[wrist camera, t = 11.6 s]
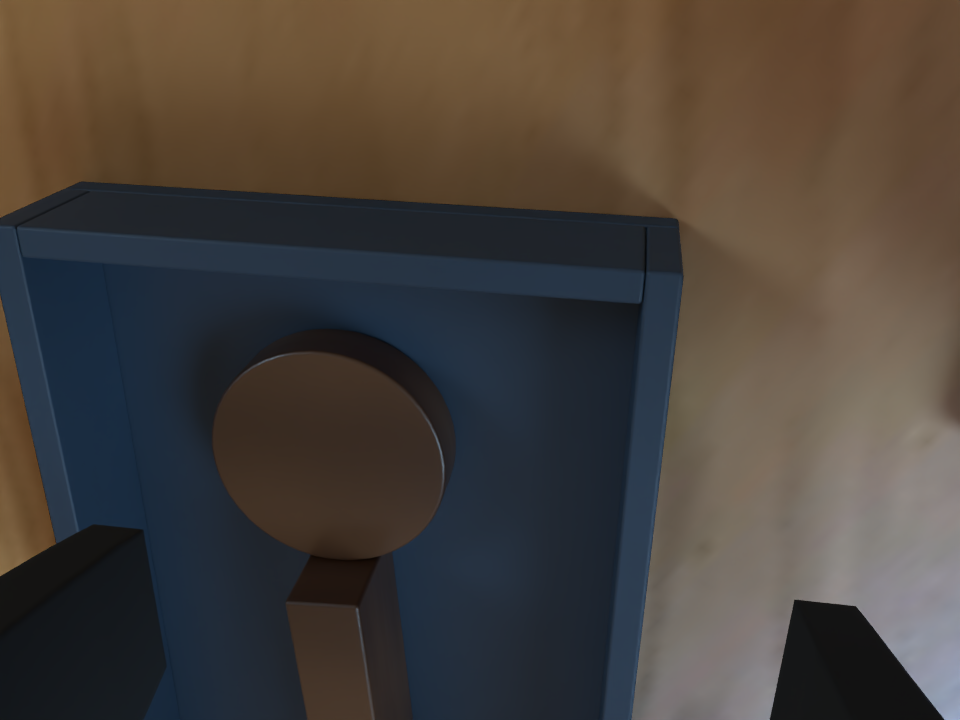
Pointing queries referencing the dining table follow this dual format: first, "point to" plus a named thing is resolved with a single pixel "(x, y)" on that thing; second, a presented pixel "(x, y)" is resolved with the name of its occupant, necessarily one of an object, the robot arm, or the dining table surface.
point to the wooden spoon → (339, 500)
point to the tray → (425, 340)
